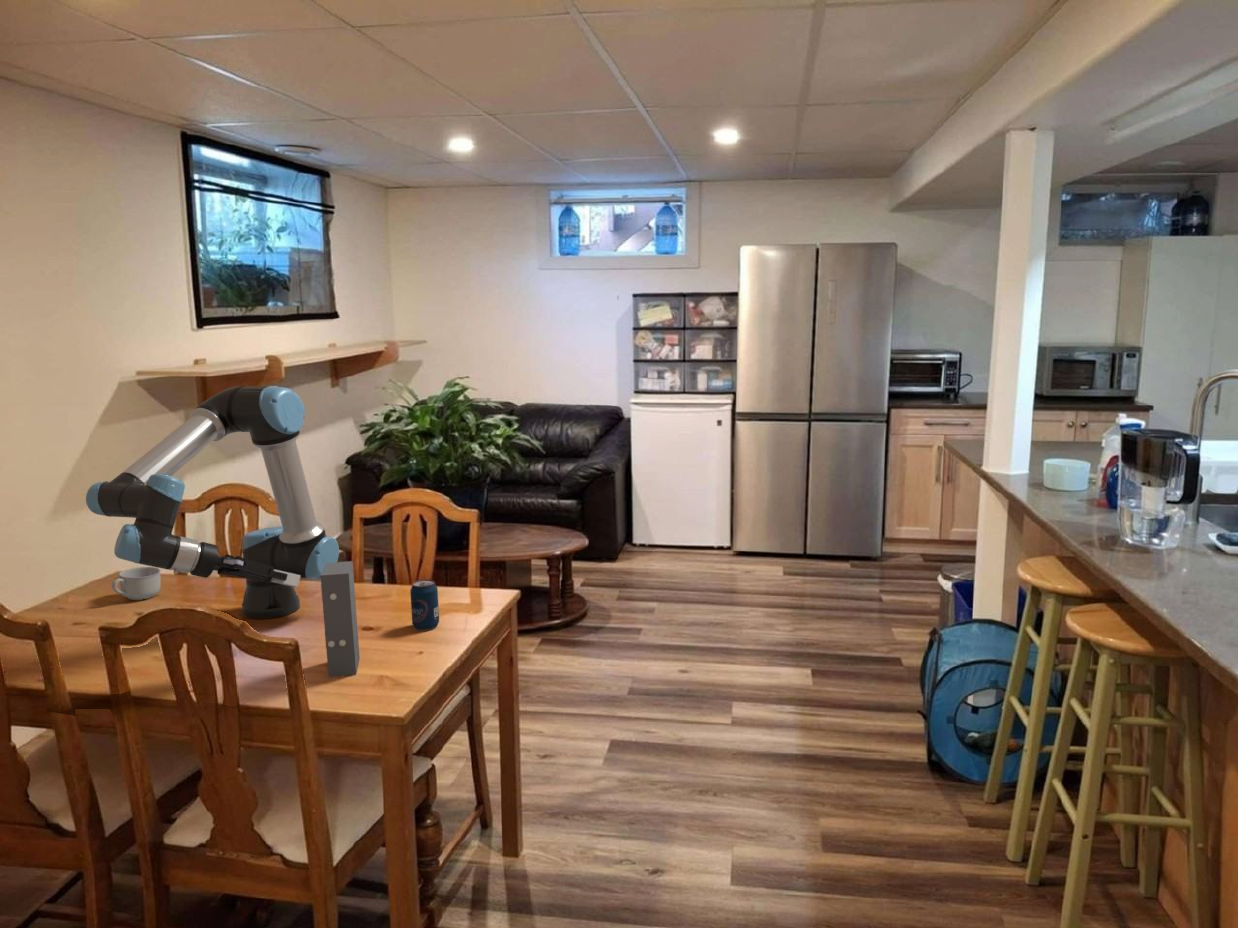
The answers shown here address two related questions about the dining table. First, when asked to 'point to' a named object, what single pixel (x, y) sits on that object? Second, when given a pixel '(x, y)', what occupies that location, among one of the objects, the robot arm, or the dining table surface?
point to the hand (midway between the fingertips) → (298, 581)
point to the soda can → (424, 605)
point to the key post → (340, 618)
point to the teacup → (138, 583)
